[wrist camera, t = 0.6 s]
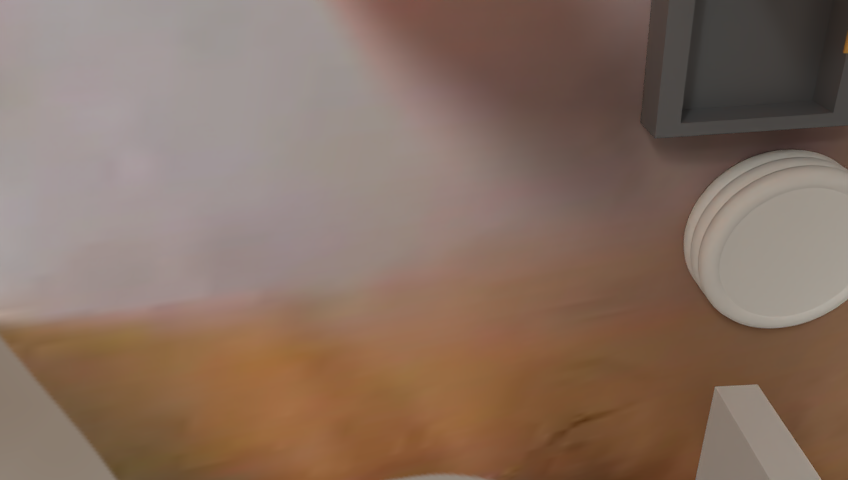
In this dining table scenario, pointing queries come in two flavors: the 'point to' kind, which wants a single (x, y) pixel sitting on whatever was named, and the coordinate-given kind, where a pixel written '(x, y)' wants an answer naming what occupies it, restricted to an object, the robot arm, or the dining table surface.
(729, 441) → the robot arm
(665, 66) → the grey compartment organizer
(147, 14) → the dining table surface
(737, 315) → the coaster
